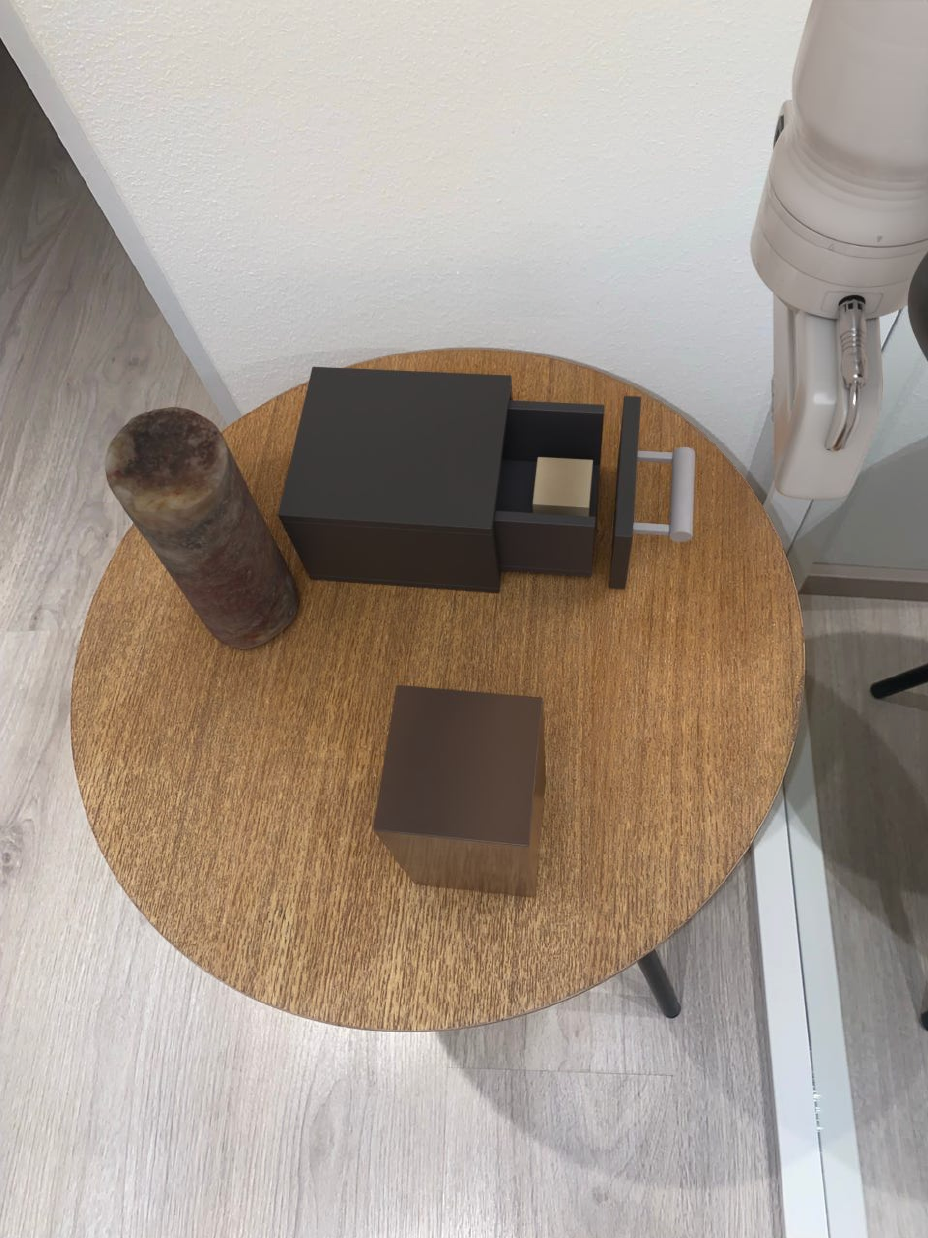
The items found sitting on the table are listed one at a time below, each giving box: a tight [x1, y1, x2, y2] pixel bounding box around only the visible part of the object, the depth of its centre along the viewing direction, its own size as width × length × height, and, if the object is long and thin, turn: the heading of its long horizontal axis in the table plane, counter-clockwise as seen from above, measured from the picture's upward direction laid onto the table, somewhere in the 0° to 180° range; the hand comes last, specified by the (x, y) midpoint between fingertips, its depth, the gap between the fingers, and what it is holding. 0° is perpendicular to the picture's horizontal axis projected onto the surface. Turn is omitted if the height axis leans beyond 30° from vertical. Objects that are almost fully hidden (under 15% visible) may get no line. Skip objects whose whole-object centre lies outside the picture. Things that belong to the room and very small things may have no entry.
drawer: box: [494, 395, 696, 591], centre depth 70 cm, size 18×11×8 cm, turn 83°
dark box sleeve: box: [277, 366, 514, 594], centre depth 72 cm, size 15×13×10 cm
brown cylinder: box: [104, 406, 299, 650], centre depth 65 cm, size 8×7×20 cm
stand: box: [372, 684, 547, 899], centre depth 58 cm, size 8×8×16 cm
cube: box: [532, 457, 593, 517], centre depth 71 cm, size 4×4×4 cm
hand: (785, 404), depth 59 cm, fingers closed
